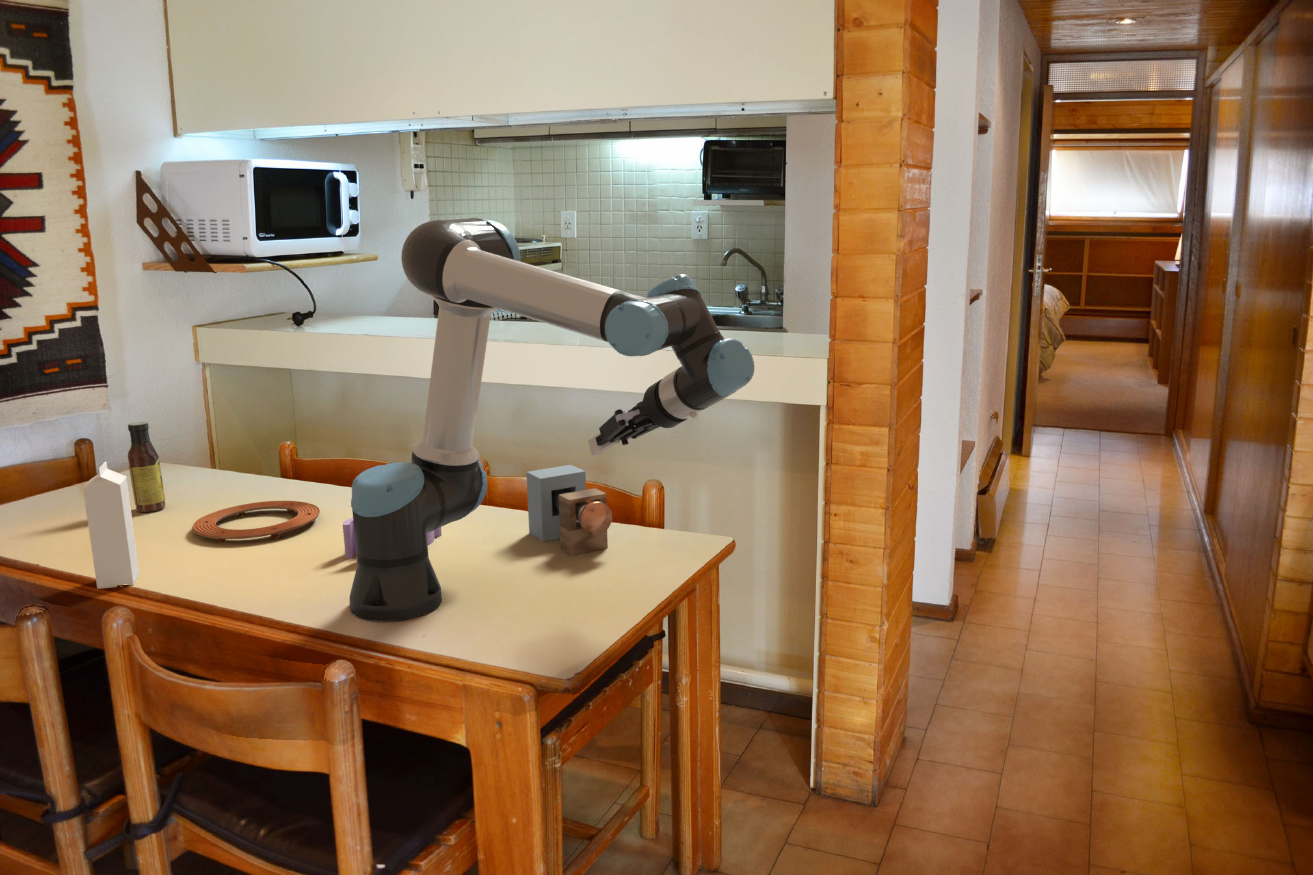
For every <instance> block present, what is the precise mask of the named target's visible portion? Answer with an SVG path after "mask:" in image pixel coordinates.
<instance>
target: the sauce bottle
mask: <svg viewBox="0 0 1313 875" xmlns="http://www.w3.org/2000/svg"><path fill="white" fill-rule="evenodd" d="M127 429H128V431H129V435H130V448H129V450H128V452H127V460H128V465H129V466H128V469H129V476H130V482H131V488H132V494H133V500H134V501H133V502H134V506H135V509H136V511H137V512H139V513H151V512H157V511H161V510H162V509H165V507H166V495H165V490H164V483H163V476H162V475H163V474H162V469H161V463H160V462H161V461H160V458H159V454H158V452H157V451H156V449H155V447H154V445H153V444H152V442H151V439H150V432H149V423H148V422H147V421H135V422H131V423H128V424H127Z"/></svg>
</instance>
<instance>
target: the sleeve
mask: <svg viewBox="0 0 1313 875" xmlns="http://www.w3.org/2000/svg"><path fill="white" fill-rule="evenodd" d="M584 501H586V502H589V503H590V502H593V501H600V502H602V503H604V504H606V505H607V493H606V492H604V491H602V490H599V489H597V488H590V489H586V490H583V491H577V492H571V493H565V494H560V495H559V519H560V538H559V540H560V541H559V543H560V545H559V546H560V549H561V550H562V551H564V552H565V553H567V554H568V555H570V556H574V555H577V554H578V555H579V554H584V553H589V552H594V551H598V550H602V549H608V546H609V543H608V541H609V540H608V529H607V530H606V531H605V532H604V533H602V534H600V535H590V534H588V533H586V532H585V531H584V530H583V529H582V528H581V526H580V522H576V508H575V503H579V502H584Z"/></svg>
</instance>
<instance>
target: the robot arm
mask: <svg viewBox="0 0 1313 875" xmlns="http://www.w3.org/2000/svg"><path fill="white" fill-rule="evenodd" d="M400 258H401V266H402V269H403V273H404V274H405V276H406V278H407V280H408V281H409V282H410V283H411V284H412V286H414V287H415V288H416V289H417V290H419V291H420V292H422V293H424V294H426V295H428V296H431V298H432V299H433V300H434V302H436V303H437V304H438V307H439V308H438V316H437V323H436V331H435V339H434V346H433V354H432V362H431V369H430V377H429V378H430V379H429V384H428V385H429V387H428V394H427V401H426V410H425V418H424V426H423V433H422V434H423V435H422V438H421V439H419V440H418V441H417V442H415V443H414V444H413V446H412V450H411V458H410V462H405V461H402V462H401V461H399V462H388V463H386V464H383V465H382V464H380V465H379V464H378V465H376V466H373V467H370V468H368V469H366V470H363V471H362V472H361V473H359V474H358V475H357V476H356V477H355V478H354V479H353V480H352V485H351V499H350V507H351V511H352V518H353V522H354V533H355V543H356V553H355V554H356V561H357V563H356V564H357V565H356V569H355V574H354V578H353V581H352V585H351V589H350V593H349V600H348V601H349V609H350V612H351V614H352V615H353V616H355V617H356V618H359V619H362V620H366V621H371V622H396V621H397V622H398V621H405V620H409V619H414V618H417V617H418V618H419V617H421V616H424V615H426V614H428V613H431V612H433V611H434V610H436V609H438V607H439V606H441V604H442V602H443V597H442V596H443V595H442V586H441V583H440V581H439V579H438V577H437V574H436V571H435V570H434V567H433V565H432V563H431V560H430V556H429V545H428V542H427V533H429V532H431V531H433V530H435V529H438V528H440V527H441V528H442V527H444V526H446V525H448V524H451V523H453V522H456V521H459V520H462V519H463V518H466V517H467V516H468V515H469V514H471V513H472V512H474V511H475V510H476V509H478V508H479V506H481V504H482V502H483V500H484V498H485V497H486V493H487V490H488V477H487V473H486V471H485V470H484V469H483V468H484V466H483V464H482V462H481V460H480V452H479V451H478V450H477V448H476V447H475V446H474V444H473V442H474V441H473V440H474V435H475V429H476V428H475V427H476V421H477V415H478V414H477V412H478V408H479V407H478V406H479V400H480V392H481V386H482V380H483V379H482V377H483V371H484V366H485V358H486V352H487V345H488V344H487V343H488V337H489V329H490V325H491V324H490V323H491V316H492V314H493V313H494V312H496V311H497V310H501V311H505V312H509V313H511V314H515V315H518V316H521V317H525V318H527V319H531V320H534V321H537V322H540V323H544V324H547V325H551V326H554V327H556V328H557V327H558V328H560V329H564V330H566V331H571V332H573V333H577V334H579V335H583V336H587V337H590V338H594V339H596V340H599V341H603V342H606V343H608V344H609V345H610V346H611V347H612V348H613V349H614V350H615V351H616V352H617V353H618V354H620V355H623V356H625V357H644V356H648V355H651V354H653V353H656V352H657V351H660V350H664V349H666V348H671V349H672V351H673V352H674V354H675V356H676V358H677V360H678V361H679V364H680V365H681V366H680V367H678V368H677V369H675V370H673V371H672V372H670V373H669V374H666V375H665V376H663V378H661V379H660V380H658V381H656V382H655V383H653V384H652V385H650V386H649V387H647V389H646V390H645V391H644V395H643V398H642V401H639V402H637V403H636V404H635V405H634V406H633V407H632V408H630V409H629V410H627V412H626V411H625V410H623V409H621V408H619V409H616V410H615V411H614V413H613V415H612V416H610V418H608V419H607V420H606V421H605V422H604V423H603V424H602V425H600V426H599V427H598V430H599V433H598V434H597V435H595V436H593V437H592V438H590V439H589V440H587V443H588V447H589V450H590V453H591V456H599V455H601V454H603V453H604V452H606V451H608V450H609V449H611V448H612V447H615V446H616V445H617V444H620V443H621V444H622V446H626V445H629V444H630V443H629V441H628V440H629V439H630V438H631V439H632V440H637V438H639V437H641V436H643V435H646V434H647V433H649V432H652V431H654V430H657V429H659V428H663V429H671V428H674V427H676V426H678V425H680V424H681V423H683V422H686V421H687V420H688V419H690V418H692V419H696V418H697V417H698V414H699V413H700V412H703V411H704V410H705V409H707V408H709V407H711V406H713V405H715V404H717V403H719V402H720V401H722V400H724V399H726V398H728V397H730V396H731V395H733V394H735V393H736V392H737V391H739V390H740V389H742V388H743V387H745V386H747V384H749V382H750V381H751V380H752V379H753V376H754V373H755V362H754V361H755V360H754V358H753V355H752V353H751V351H750V350H749V348H748V347H746V346H744V345H743V342H741V341H740V340H738V339H736V338H730V337H729V338H724V336H723V335H722V332H720V330H719V328H718V326H717V324H716V321H715V320H714V318H713V316H712V315H711V313H710V310H709V309H708V307H707V305H706V303H705V301H704V299H703V297H702V293H701V291H700V290H699V289H698V288H697V286H696V285H695V283H694V281H693V280H692V278H691V277H690V276H689V275H687V274H686V273H685V274H684V273H681V274H677V275H674V276H671V277H669V278H667V279H665V280H663V281H661V282H660V283H658V284H657V285H655V286H654V287H652V288H651V289H650V290H649V291H648V292H647V294H646V296H645V297H644V296H641V295H638V294H634V293H630V292H627V291H626V292H625V291H622V290H620V289H616V288H612V287H610V286H607V285H604V284H603V285H602V284H598V283H596V282H593V281H589V280H585V279H582V278H578V277H574V276H570V275H567V274H564V273H561V272H557V271H553V270H550V269H547V268H543V267H540V266H536V265H533V264H530V263H526V262H523V261H521V251H520V247H519V244H518V242H517V240H516V239H515V238H514V236H513V234H512V232H511V231H510V230H509V229H508V228H507V227H506V226H505V225H503V224H502V223H500V222H498V221H496V220H493V219H489V218H480V217H479V218H478V217H471V218H459V219H438V220H437V219H436V220H435V219H434V220H428V221H427V222H424V223H421V224H420V225H418V226H416V227H415V228H414V229H412V231H411V232H410V233H409V234H408V235H407V237H406V238H405V240H404V243H403V245H402V249H401V257H400Z"/></svg>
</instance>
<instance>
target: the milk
mask: <svg viewBox="0 0 1313 875" xmlns="http://www.w3.org/2000/svg"><path fill="white" fill-rule="evenodd" d="M82 491H83V492H82V493H83V499H84V506H85V513H86V521H87V526H88V531H89V532H88V533H89V539H90V540H89V542H90V546H91V553H92V560H93V566H94V574H95V581H96V588H97V590H99V589H109V588H117V585H122V584H134V585H135V583H136V581H137V579H138V578H137V577H139V576H140V568H139V567H140V566H139V559H138V552H137V545H136V538H135V530H134V525H133V524H134V523H133V516H132V515H133V514H132V510H131V500H130V493H129V486H128V478H127V476H126V475H125V474H121V473H119V472H117V471H114V470H111V469H109V468H108V464H107V461H106V460H105V461H104V462H103V463H102V464H101V465H100V467H98V474H97V475H95V476H94V477H92V478H90V479H89V480H88V482H87V483H85V485H84V486H83V487H82ZM138 575H139V576H138ZM136 578H137V579H136ZM135 580H136V581H135ZM134 582H135V583H134Z"/></svg>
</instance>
